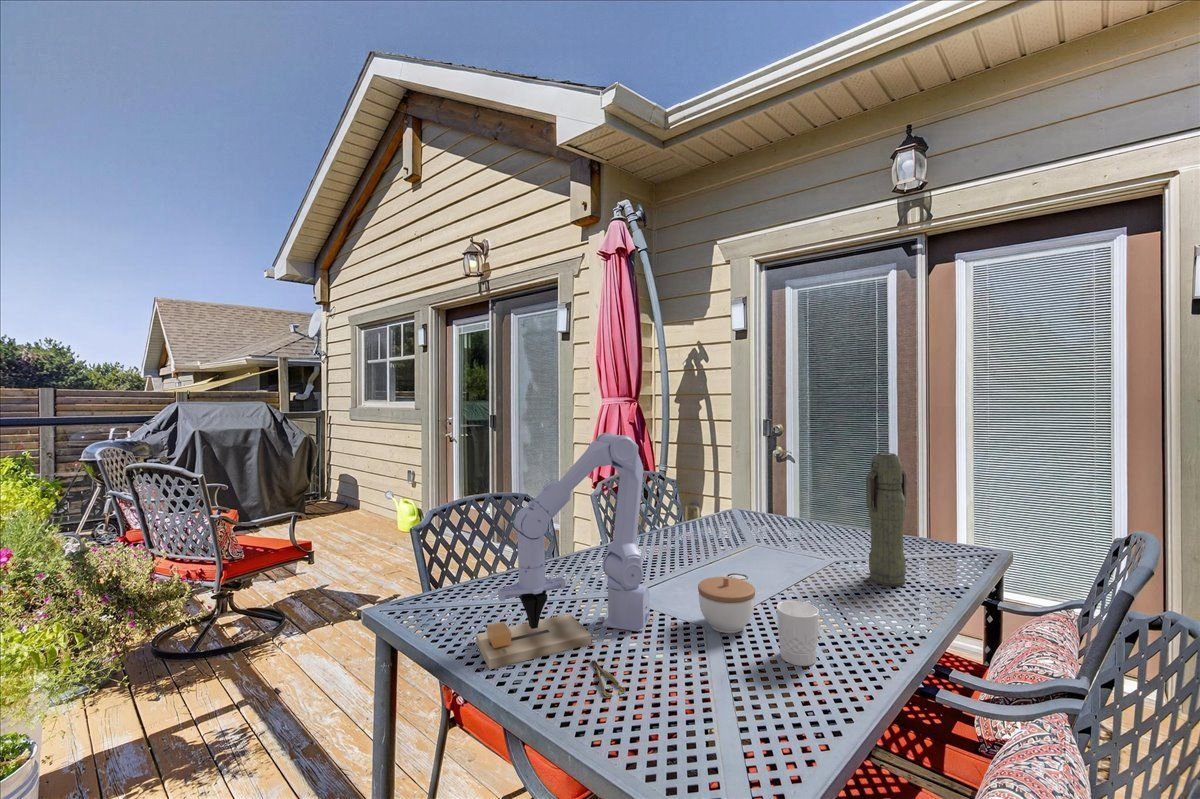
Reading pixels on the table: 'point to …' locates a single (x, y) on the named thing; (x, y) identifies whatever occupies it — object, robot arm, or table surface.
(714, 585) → the lidded bowl
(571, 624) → the fader panel
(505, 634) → the fader knob
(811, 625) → the white cup
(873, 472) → the olive green statue
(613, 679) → the tongs
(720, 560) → the table surface
